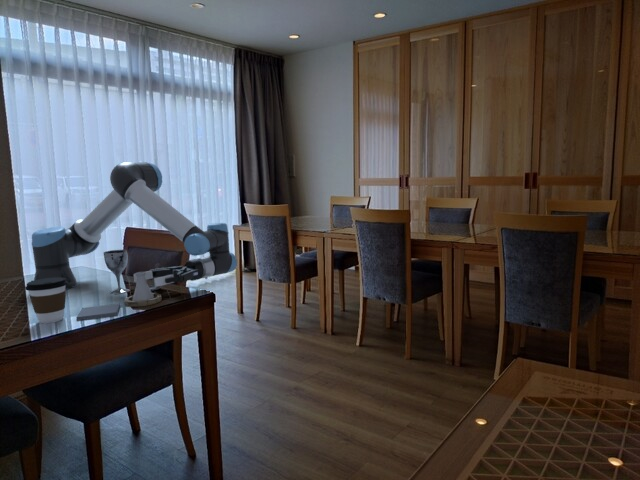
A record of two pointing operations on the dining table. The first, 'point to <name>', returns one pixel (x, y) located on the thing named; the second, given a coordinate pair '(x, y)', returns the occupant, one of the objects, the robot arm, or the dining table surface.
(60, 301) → the coffee cup
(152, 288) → the pocket watch
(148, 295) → the flask
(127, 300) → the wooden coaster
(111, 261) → the wine glass
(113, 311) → the rubber mat
